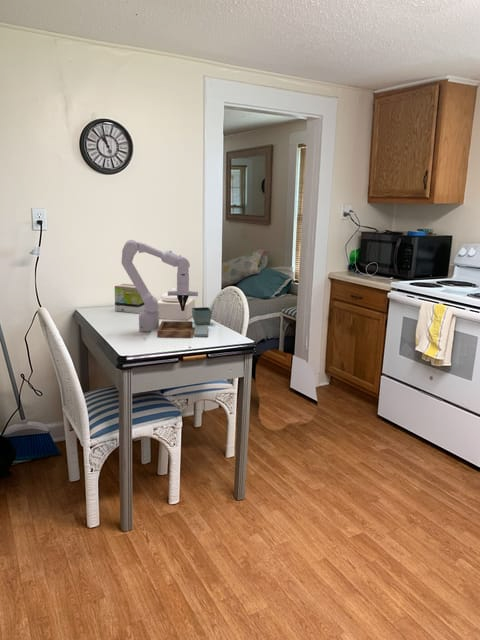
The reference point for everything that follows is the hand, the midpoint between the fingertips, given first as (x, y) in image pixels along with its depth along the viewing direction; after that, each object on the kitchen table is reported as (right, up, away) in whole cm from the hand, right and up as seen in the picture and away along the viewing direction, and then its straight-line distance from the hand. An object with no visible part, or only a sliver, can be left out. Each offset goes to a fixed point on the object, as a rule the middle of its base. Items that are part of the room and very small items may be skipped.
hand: (182, 310), depth 245 cm
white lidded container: (-8, -3, +31) cm, 33 cm away
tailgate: (+6, -10, -10) cm, 16 cm away
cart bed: (-2, -12, -10) cm, 15 cm away
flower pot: (+8, -8, +9) cm, 15 cm away
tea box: (-34, 0, +42) cm, 54 cm away
